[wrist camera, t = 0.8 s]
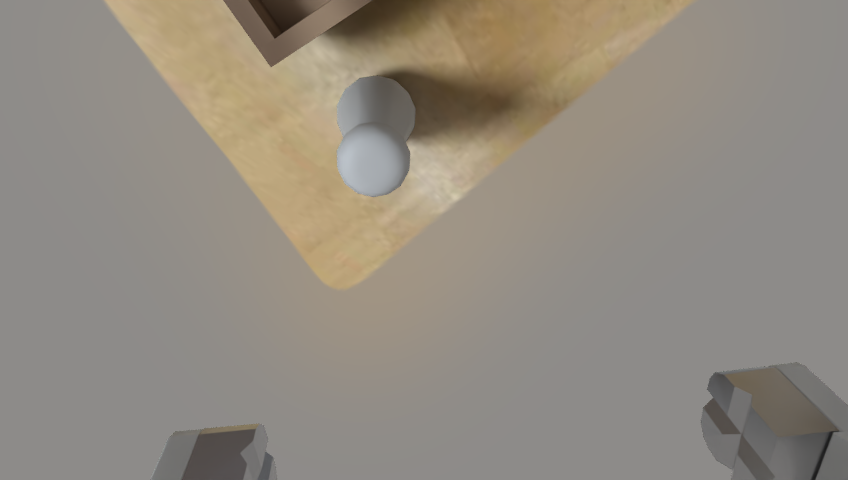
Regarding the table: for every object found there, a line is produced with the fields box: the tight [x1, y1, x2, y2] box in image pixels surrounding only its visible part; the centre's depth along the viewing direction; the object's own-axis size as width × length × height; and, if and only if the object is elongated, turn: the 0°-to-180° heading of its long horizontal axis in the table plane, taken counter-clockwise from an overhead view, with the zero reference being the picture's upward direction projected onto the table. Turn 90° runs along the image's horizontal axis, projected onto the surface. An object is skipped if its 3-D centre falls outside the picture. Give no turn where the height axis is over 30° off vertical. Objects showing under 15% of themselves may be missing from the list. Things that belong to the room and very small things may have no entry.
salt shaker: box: [337, 75, 416, 197], centre depth 37 cm, size 6×6×13 cm
